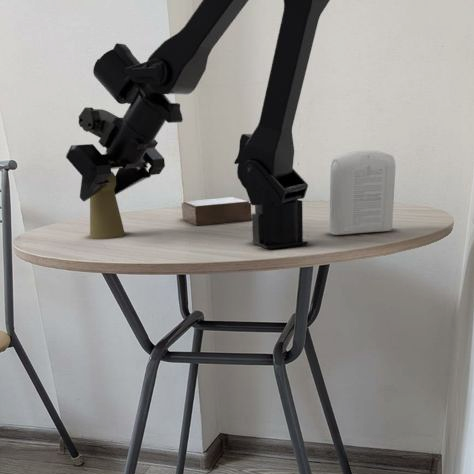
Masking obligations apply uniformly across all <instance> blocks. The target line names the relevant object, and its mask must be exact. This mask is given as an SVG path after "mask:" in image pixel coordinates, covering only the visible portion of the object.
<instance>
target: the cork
mask: <svg viewBox="0 0 474 474" xmlns="http://www.w3.org/2000/svg"><path fill="white" fill-rule="evenodd" d="M115 176H116V174H115V173H114V172H113V171H111V175H110V176H109V178H108V180H109V182H110V183H109V184H108V185H106V186H105V187H104V188H102V189H101V190H100V191H99V192H97V193H96V194H95V195H93V196H92V197H91V198H89V231H90V232H89V234H90V235H89V237H90V238H91V239H97V240H98V239H99V240H100V239H113V238H121V237H123V236H125V235H126V233H125V229H124V224H123V221H122V216H121V213H120V207H119V204H118V201H117V197H116V195H115V192H114V188H115V186H116V177H115Z"/></svg>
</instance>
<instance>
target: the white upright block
mask: <svg viewBox="0 0 474 474" xmlns="http://www.w3.org/2000/svg"><path fill="white" fill-rule="evenodd" d="M394 157H395V156H393V155H392V154H389V153H386V152H383V151H377V150H356V151H350V152H347V153H344V154H341V155H338V156H336V157H334V158H333V159H332V161H331V164H330V177H329V179H330V180H329V181H330V182H329V233H330V235H334V236H341V235H353V234H355V235H356V234H368V233H381V232H382V233H383V232H390V231H391V230H392V229H393V218H394V203H395V184H396V160H395V158H394Z"/></svg>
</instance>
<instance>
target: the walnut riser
mask: <svg viewBox="0 0 474 474" xmlns="http://www.w3.org/2000/svg"><path fill="white" fill-rule="evenodd" d="M181 211H182V213H181V214H182V220H184V221H186V222H188V223H190V224H192V225H195V226H206V225H216V224H217V225H218V224H227V223H237V222H245V221H246V222H247V221H252V205H251V202H250V200H249V201H248V200H245V199H241V198H237V197H233V196H229V197H219V198H208V199H206V198H205V199H196V200H183V202H181Z"/></svg>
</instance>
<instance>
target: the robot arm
mask: <svg viewBox="0 0 474 474" xmlns="http://www.w3.org/2000/svg"><path fill="white" fill-rule="evenodd" d="M249 1H250V0H201V2H200V3H199V5H198V6H197V8H196V9H195V11H194V12H193V13H192V14H191V16H190V18H189V19H188V21H187V22H186V23H185V25H184V26H183V27H182V28H181V29H180V30H179V32H177V33H175V34H174V35H172V36H171V37H169V38H168V39H166V40H164V41H163V42H162V43H161V44H160V45H159V46H158V47H156V49H155V50H154V51H153V52H152V53H151V54H150V55H149V57H148V58H147V60H146V61H144V62H140V61H139V60H138V59H137V58H136V57H135V55H134V54H133V52H132V50H131V49H130V48H129V47H128V46H127V45H126V44H125V43H120V42H119V43H117V42H116V43H115V44H114V46H113V48H112V49H110V50H108V51H106V52H105V53H103V54H102V56H100V57H99V58H98V59H96V61H95V63H94V65H93V69H92V73H93V74H92V75H93V76H94V78H95V79H96V80H97V81H98V82H99V83H100V84H101V86H102V87H103V88H104V89H105V90H106V91H107V92H108V94H110V96H111V97H112V98H113V99H114V100H115V101H116V103H118V104H119V105H125V104H128V105H129V106H128V108H127V110H126V111H125V113H124V115H123V117H120V116H117V115H115V114H114V113H112V112H110V111H108V110H106V109H102V108H101V109H100V108H98V109H97V108H93V107H92V106H91V107H84V108H83V109H82V111H81V112H80V114H79V115H78V125H79V127H80V128H82V130H83V131H84V132H86V133H90V134H92V135H94V136H96V137H98V138H99V139H98V143H99V145H100V146H101V147H102V148H105V149H106V150H105V153H104V154H103V153H101V152H100V150H98V148H97V147H96V146H95V144H93V143H90V144H89V143H88V144H87V143H86V144H85V143H84V144H71V145H70V147H69V149H68V151H67V153H66V154H65V158H66V159H67V160H68V161H69V163H70V164H71V165H72V166H73V167H74V168H75V170H76V171H77V172H78V173H79V174H80V175H81V182H80V192H79V198H80V200H81V201H82V202H87V201H88V200H90V198H91V197H92V196H93V195H95V194H96V193H97V192H99V191H100V190H101V189H102V188H104V187H105V186H106V185H108V184H109V183H110V182H109V180H108V178H109V176H110V175H111V172H112V170H115V169H116V170H117V169H118V170H117V171H116V174H115V177H116V186H115V188H114V192H115V196H116V195H119V194H120V193H122V192H124V191H125V190H128V189H129V188H131V187H132V186H133V187H134V186H135V185H137V184H139V183H141V182H143V181H145V180H146V179H150V178H151V176H155V175H160V174H161V173H162V172H163V170H164V168H165V167H166V164H165V158H164V157H163V155H162V154H161V153H160V152H159V151H158V149H156V147H157V145H158V144H159V142H158V141H157V139H156V138H157V136H158V135H159V133H160V131H161V129H162V128H163V127H164V126H165V123H168V124H170V123H173V124H174V123H183V120H184V119H183V114H182V110H181V104H180V103H179V102H172V101H171V100H170V99H169V98H168V97H167V95H173V96H186V95H190V94H192V93H193V92H194V91H195V90H196V88H197V87H198V85H199V83H200V81H201V79H202V77H203V76H204V74H205V72H206V69H207V64H208V59H209V56H210V54H211V52H212V50H213V49H214V47H215V46H216V44H217V43H218V42H219V41H220V40H221V38H222V36H223V35H224V34H225V33H226V31H227V30H228V28H229V27H230V26H231V25H232V23H233V22H234V20H236V18H237V17H238V15H239V14H240V12H241V11H242V10H243V8H244V7H245V6H246V5H247V3H248V2H249ZM330 1H331V0H283V12H282V17H281V22H280V25H279V29H278V35H277V39H276V44H275V49H274V54H273V57H272V62H271V66H270V71H269V76H268V81H267V86H266V89H265V95H264V98H263V104H262V108H261V112H260V117H259V122H258V124H257V126H256V127H255V129H254V131H253V132H252V133H242V134H241V135H240V138H239V147H238V148H239V150H238V153H237V157H236V159H235V160H234V163H233V164H234V165H237V168H236V169H237V170H236V174H237V179H238V180H239V182H240V184H241V186H242V187H243V188H244V189H245V192H246V194H247V197H248V199H249V203H251V206H254V212H252V213H251V219H252V220H251V222H252V223H251V225H252V240H251V242H252V243H253V244H255V245H257V246H259V247H262V248H264V249H267V250H272V249H279V248H289V247H296V246H305V245H306V246H307V245H308V243H309V241H308V240H306V239H304V236H303V235H304V234H303V233H304V229H303V227H304V226H303V225H304V224H303V223H304V222H303V217H304V216H303V215H304V213H303V199H304V198H305V197H306V194H307V190H308V187H309V183H307V182H306V181H305V180H304V178H303V177H301V175H300V174H299V173H298V171H296V170H295V169H294V160H295V159H294V158H295V146H294V145H295V144H294V138H293V126H294V121H295V118H296V114H297V110H298V106H299V102H300V98H301V93H302V89H303V85H304V81H305V76H306V73H307V69H308V65H309V61H310V56H311V52H312V50H313V49H312V48H313V45H314V40H315V37H316V32H317V28H318V24H319V21H320V17H321V15H322V14H323V12H324V10H325V8H326V7H327V6H328V4H329V2H330ZM148 164H149V168H148Z"/></svg>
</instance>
